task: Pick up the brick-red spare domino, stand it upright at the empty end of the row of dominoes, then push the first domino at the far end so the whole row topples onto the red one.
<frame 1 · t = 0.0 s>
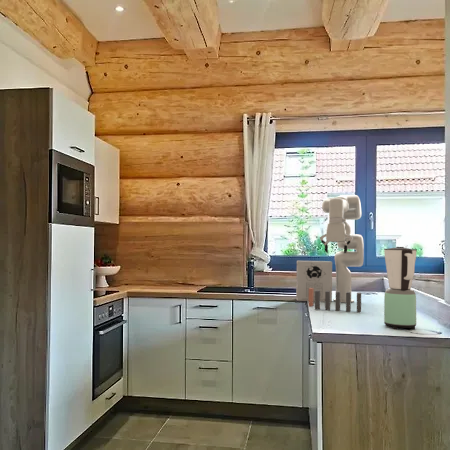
hand: (335, 252, 246), 31 cm above the countertop, tool pointing down, fingers open, 9 cm apart
domino 5: (317, 309, 251), on the countertop
domino 3: (337, 310, 247), on the countertop
domino 2: (348, 311, 245), on the countertop
domino 4: (327, 309, 249), on the countertop
juicer: (400, 328, 197), on the countertop
spare domino: (310, 305, 264), on the countertop
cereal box: (313, 300, 289), on the countertop
domino 1: (358, 311, 243), on the countertop
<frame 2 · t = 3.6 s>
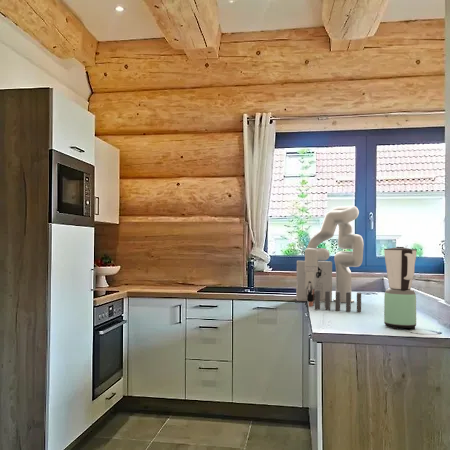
hand: (311, 300, 264), 3 cm above the countertop, tool pointing down, fingers closed on spare domino, 4 cm apart
spare domino: (310, 305, 264), on the countertop, touching gripper
everything else where it was.
when the fingers open (4 cm above the countertop, at t = 9.5 s): spare domino stays where it is, on the countertop.
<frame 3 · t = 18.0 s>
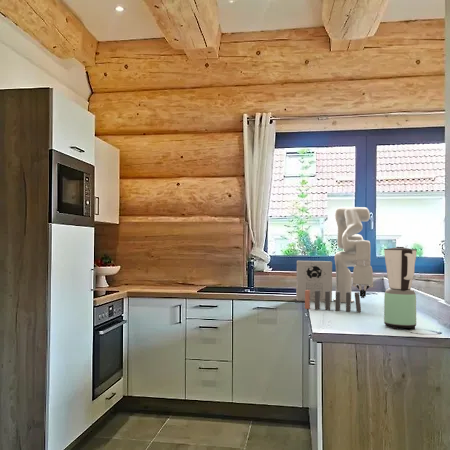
hand: (362, 297, 243), 8 cm above the countertop, tool pointing down, fingers closed
spare domino: (307, 308, 253), on the countertop
domino 1: (358, 311, 243), on the countertop, tilted 7°
everything else where it was.
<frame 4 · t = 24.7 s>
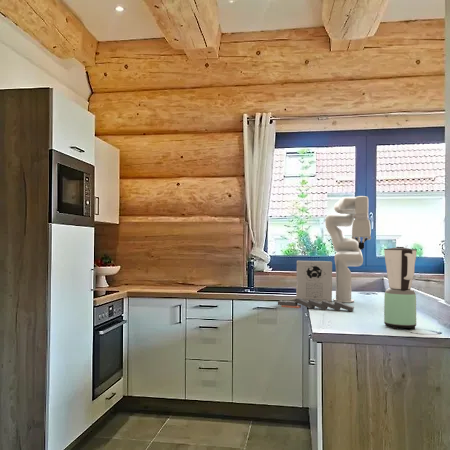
hand: (361, 249, 261), 33 cm above the countertop, tool pointing down, fingers closed
domino 5: (296, 303, 255), point 2 cm above the countertop, tilted 91°, touching domino 4, spare domino
domino 3: (326, 307, 249), point 1 cm above the countertop, tilted 73°, touching domino 4
domino 2: (340, 308, 247), point 1 cm above the countertop, tilted 73°, touching domino 1
domino 4: (313, 306, 252), point 1 cm above the countertop, tilted 72°, touching domino 3, domino 5
spare domino: (300, 307, 254), on the countertop, tilted 91°, touching domino 5
domino 1: (353, 309, 244), point 1 cm above the countertop, tilted 73°, touching domino 2
everything else where it was.
at the end: spare domino tilted 90°; spare domino inside the target area (3.7 cm from its centre), on the countertop; domino 1 tilted 73° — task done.
